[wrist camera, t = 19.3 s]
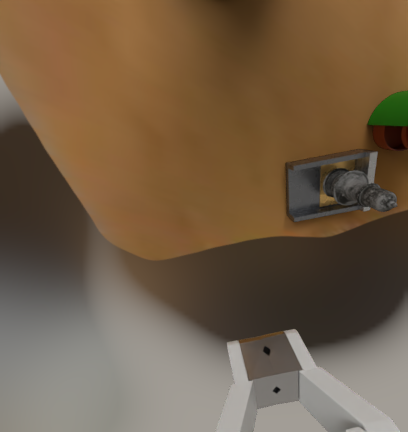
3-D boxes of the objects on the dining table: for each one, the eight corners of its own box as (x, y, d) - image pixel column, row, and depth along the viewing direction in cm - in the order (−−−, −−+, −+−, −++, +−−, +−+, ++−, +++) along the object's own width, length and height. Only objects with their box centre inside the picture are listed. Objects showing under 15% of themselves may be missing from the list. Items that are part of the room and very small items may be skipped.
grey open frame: (287, 215, 42) (296, 224, 39) (285, 162, 38) (296, 167, 35) (353, 202, 42) (370, 210, 39) (359, 148, 38) (377, 151, 35)
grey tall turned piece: (357, 165, 38) (426, 182, 27) (349, 198, 41) (410, 225, 30) (324, 166, 38) (382, 184, 27) (318, 199, 40) (369, 228, 29)
